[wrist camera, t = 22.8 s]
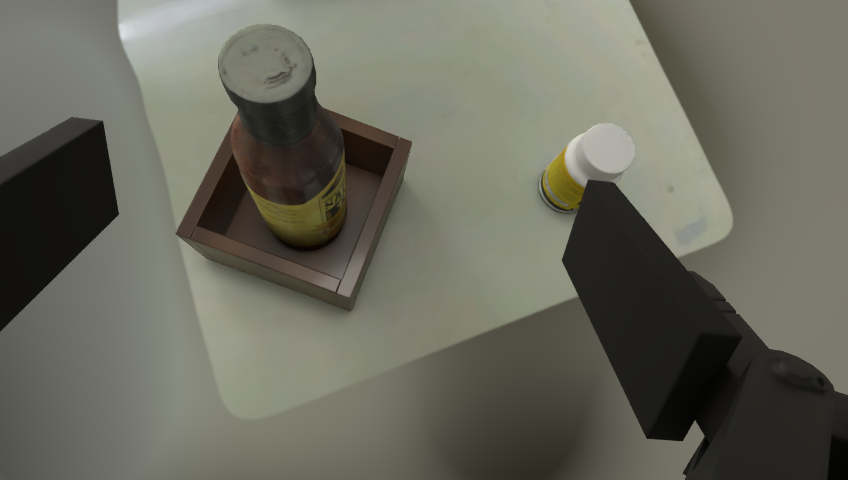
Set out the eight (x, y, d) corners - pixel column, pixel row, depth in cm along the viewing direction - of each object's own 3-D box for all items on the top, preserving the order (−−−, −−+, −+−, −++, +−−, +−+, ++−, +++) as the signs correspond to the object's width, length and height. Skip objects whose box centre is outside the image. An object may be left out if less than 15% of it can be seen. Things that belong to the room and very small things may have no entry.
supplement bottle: (566, 225, 45) (613, 192, 37) (527, 186, 45) (564, 145, 37) (601, 189, 46) (653, 149, 38) (562, 152, 47) (605, 105, 39)
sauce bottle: (349, 251, 41) (344, 141, 22) (266, 254, 40) (186, 143, 21) (346, 172, 43) (339, 6, 23) (266, 174, 42) (192, 3, 23)
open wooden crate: (403, 177, 44) (412, 141, 37) (351, 311, 41) (350, 298, 34) (268, 126, 44) (253, 80, 37) (204, 257, 40) (174, 233, 34)
